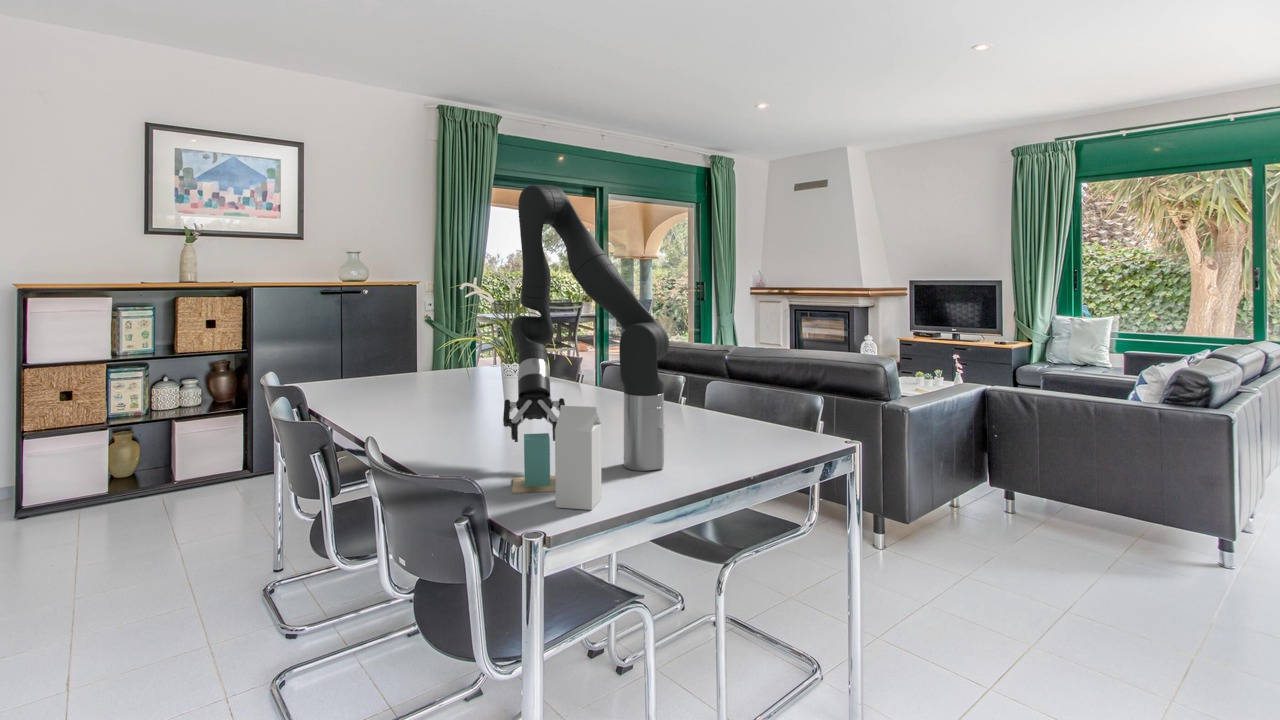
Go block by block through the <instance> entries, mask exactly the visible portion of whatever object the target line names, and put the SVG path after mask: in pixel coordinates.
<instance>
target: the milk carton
mask: <svg viewBox="0 0 1280 720" xmlns="http://www.w3.org/2000/svg"><path fill="white" fill-rule="evenodd" d="M557 418H558V421H557V424H556V427H555V441H554V455H555V456H554V463H555V464H554V469H555V474H554V476H555V484H556V491H555V508H559V509H560V508H563V509H571V510H572V509H575V510H589V511H590V510H591V511H592V510H593V509H594V508H595V506H596V505H597V504H598V503H599V501H600V500H601V499H602V496H603V495H602V422H601V420H600V418H599V414H598V413H597V406H586V405H585V406H584V405H565V406H563V405H561V406H560V412H559V414H558V417H557Z"/></svg>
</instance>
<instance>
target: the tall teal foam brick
mask: <svg viewBox="0 0 1280 720" xmlns="http://www.w3.org/2000/svg"><path fill="white" fill-rule="evenodd" d="M550 442H551V441H550V433H549V432H545V433H540V432H539V433H524V434H523V444H524V445H523V452H524V453H523V456H524V457H523V458H524V460H523V461H524V463H523V464H524V465H523V466H524V467H523V468H524V477H525V487H540V486H550V476H551V446H550V445H551V443H550Z"/></svg>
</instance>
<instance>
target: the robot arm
mask: <svg viewBox="0 0 1280 720" xmlns="http://www.w3.org/2000/svg"><path fill="white" fill-rule="evenodd" d="M517 205H518V219H519V220H518V221H519V231H520V232H519V234H520V243H521V244H520V245H521V254H522V279H521V293H520V294H521V295H520V303H521V305H522V306H523V307H524V308H527V309H530V310H533V311H536V312H538V314H539V315H540V316H535V315H534V316H528V315H518V316H517V317H515V318H514V319H513V321H512V323H511V337H512V338H513V339H512V340H513V341H514V343H515V345H516V348H517V352H518V353H517V354H518V372H517V386H518V387H517V388H518V389H517V391H518V392H517V394H518V396H517V397H518V398H517V400H516V401H510V399H505V400H504V403H503V417H502V420H503V421H502V422H503V426H504V428H507V427H508V428H509V427H510V430H511V433H510V434H511V440H512V441H513V440H514V443H518V442H519V437H518V436H519V433H518V432H519V431H518V430H519V429H518V428H519V426H520V425H521V424H522V423H524V421H525V420H526V419H528V420H529V421H530V420H531V421H532V420H535V419H536V420H542V419H544V420H545V421H546V422H547V423H549V424H550V425H552V427H551V429H552V430H551V431H552V441H553V442H555V427H556V424H557V421H558V417H557V416H556V415H555V413H554V411H553V410H552V409H553V407H554V408H555V409H556V410H557V411H559V413H560V406H561V405H563V406H566V404H565V403H566V402H565V399H564V398H562V397H561V398H559V399H558V400H552V398H551V379H550V378H551V377H550V369H549V357H548V356H549V355H548V349H547V348H546V346H545V345H548V344H549V343H550V342H552V340H553V338H554V334H555V333H554V332H555V331H554V325H553V320H552V317H551V311H550V310H551V309H550V296H551V295H550V293H551V284H552V283H551V281H552V280H551V277H552V276H551V271H550V270H551V269H550V265H549V263H548V260H547V258H546V254H545V251H544V246H543V232H544V225H550V226H551V227H552V228H553V230H555V232H556V233H557V235H558V236H559V237H560V239H561V240H562V242H563V243H564V246H565V249H566V257H567V262H568V267H569V269H570V272H571V274H572V276H573V278H574V279H575V280H576V281H577V283H578V285H579V286H580V287H581V288H582V290H583V291H584V293H585V294H586V295H587V296H588V297H589V298H590V299H592V300H593V301H594V302H595V303H596V305H599V306H600V307H601V308H602V309H603V310H604V311H606V312H607V313H609V314H610V315H611V316H612V317H613V318H614V319H615V320H616V321H617V322H618V323H619V325H620V326H621V328H622V329H623V332H622V333H621V336H620V340H619V370H620V371H619V372H620V373H619V374H620V379H621V380H620V381H621V383H622V386H623V468H626V469H629V470H632V471H645V472H647V471H655V470H663V469H664V465H665V423H664V419H665V418H664V414H665V412H664V411H665V410H664V409H665V406H664V405H665V383H664V381H663V380H662V378H661V377H660V376H659V371H658V361H659V360H662V359H663V358H664V357H666V356H667V354H668V351H669V350H670V348H669V347H670V340H669V335H668V334H667V331H666V330H665V328H664V327H663V326H662V325H661V323H660V322H659V321H658V320H657V319H656V318H655V317H654V316H653V315H652V314H651V313H650V312H649V310H648V309H647V308H646V307H645V306H644V305H643V304H642V302H640V300H639V299H638V297H637V296H636V294H635V293H634V291H633V290H632V289H631V288H630V286H629V285H628V283H627V282H626V281H625V279H624V278H623V276H622V275H621V274H620V272H619V270H618V269H617V268H616V266H615V265H614V263H613V261H611V259H610V258H609V256H608V255H607V254H606V253H605V251H604V250H603V249H602V248H601V246H600V245H599V244H598V243H597V240H595V237H594V236H593V235H592V234H591V233H590V231H589V230H588V229H587V227H586V226H585V224H584V223H583V221H582V220H581V218H580V216H579V214H578V212H577V211H576V209H575V208H574V207H575V206H573V204H572V202H571V201H570V198H569V197H568V195H567V194H566V193H565V192H564V191H563V190H562V189H561V188H560V187H558V186H555V185H552V184H531V185H527V186H526V187H524V188H523V189H522V190H521V192H520V194H519V197H518V204H517ZM515 408H516V410H517V412H516V415H514V417H513V418H510V417H511V416H510V414H511V413H512V412H513V411H514V409H515Z"/></svg>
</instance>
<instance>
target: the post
mask: <svg viewBox="0 0 1280 720" xmlns="http://www.w3.org/2000/svg"><path fill="white" fill-rule="evenodd" d="M528 492H529V493H543V492H544V493H547V492H556V484H555V475H550V486H540V487H525V476H516V477H515V476H514V477H512V494H524V493H525V494H527V493H528Z"/></svg>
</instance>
